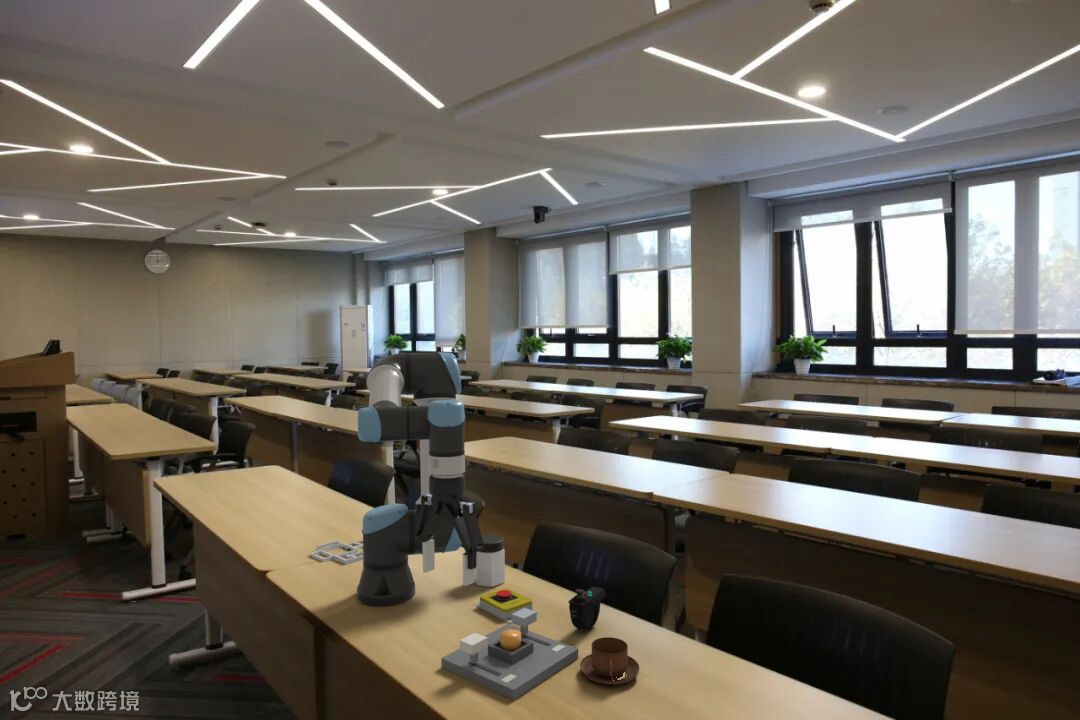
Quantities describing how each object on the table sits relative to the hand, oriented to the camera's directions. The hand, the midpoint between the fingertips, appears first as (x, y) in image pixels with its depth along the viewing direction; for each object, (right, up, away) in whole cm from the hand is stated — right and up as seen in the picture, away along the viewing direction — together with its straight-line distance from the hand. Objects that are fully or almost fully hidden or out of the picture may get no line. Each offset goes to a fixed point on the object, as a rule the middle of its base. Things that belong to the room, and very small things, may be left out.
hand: (448, 577), depth 143 cm
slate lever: (+16, -16, +8) cm, 24 cm away
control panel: (+13, -18, 0) cm, 22 cm away
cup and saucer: (+33, -19, -4) cm, 39 cm away
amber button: (+13, -14, 0) cm, 20 cm away
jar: (+5, -16, +47) cm, 50 cm away
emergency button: (+11, -18, +28) cm, 35 cm away
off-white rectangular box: (+6, -16, -4) cm, 18 cm away
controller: (+30, -18, +17) cm, 39 cm away
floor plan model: (-43, -16, +69) cm, 83 cm away
